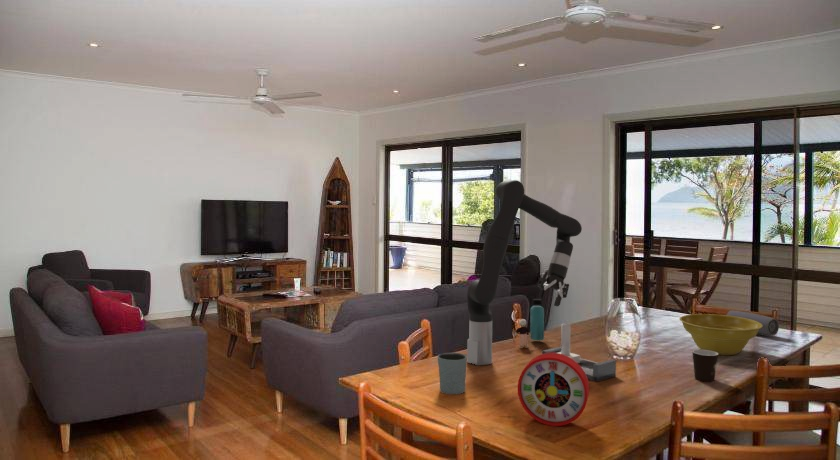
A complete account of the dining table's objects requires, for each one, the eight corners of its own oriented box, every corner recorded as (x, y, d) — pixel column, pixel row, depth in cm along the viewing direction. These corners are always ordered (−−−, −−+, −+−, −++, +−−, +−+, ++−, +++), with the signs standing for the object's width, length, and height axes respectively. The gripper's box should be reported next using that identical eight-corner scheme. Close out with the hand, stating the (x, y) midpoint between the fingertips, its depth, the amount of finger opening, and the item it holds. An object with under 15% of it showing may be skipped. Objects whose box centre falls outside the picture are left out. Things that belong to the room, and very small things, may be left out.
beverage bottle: (544, 343, 268) (544, 300, 267) (529, 343, 269) (530, 300, 268) (544, 340, 275) (544, 298, 274) (529, 339, 276) (530, 297, 275)
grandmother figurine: (527, 345, 265) (528, 317, 264) (532, 347, 261) (532, 319, 261) (512, 346, 262) (512, 318, 262) (516, 349, 259) (516, 320, 258)
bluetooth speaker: (724, 329, 300) (724, 310, 300) (736, 327, 304) (737, 308, 303) (766, 339, 279) (767, 318, 279) (779, 337, 283) (779, 316, 283)
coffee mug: (707, 384, 209) (708, 356, 209) (686, 377, 217) (687, 351, 216) (728, 379, 215) (729, 352, 214) (707, 373, 222) (707, 347, 222)
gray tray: (597, 381, 212) (597, 365, 212) (542, 365, 233) (542, 350, 232) (615, 376, 218) (615, 360, 218) (560, 361, 239) (560, 346, 239)
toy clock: (517, 421, 174) (517, 354, 173) (520, 414, 179) (521, 349, 178) (586, 430, 167) (588, 361, 166) (588, 423, 172) (589, 356, 171)
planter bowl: (744, 366, 233) (745, 332, 232) (665, 350, 257) (666, 320, 257) (773, 352, 254) (774, 321, 254) (697, 339, 278) (698, 311, 278)
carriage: (567, 366, 225) (567, 327, 224) (550, 361, 231) (551, 324, 230) (580, 362, 229) (580, 324, 229) (563, 358, 236) (564, 321, 235)
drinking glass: (457, 397, 195) (458, 361, 194) (431, 391, 200) (432, 357, 199) (471, 389, 203) (472, 354, 203) (446, 384, 209) (446, 350, 208)
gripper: (552, 259, 236) (541, 297, 233) (577, 271, 242) (567, 309, 239) (540, 259, 243) (529, 296, 239) (565, 271, 249) (555, 307, 245)
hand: (548, 302), depth 239 cm, fingers open, 8 cm apart
